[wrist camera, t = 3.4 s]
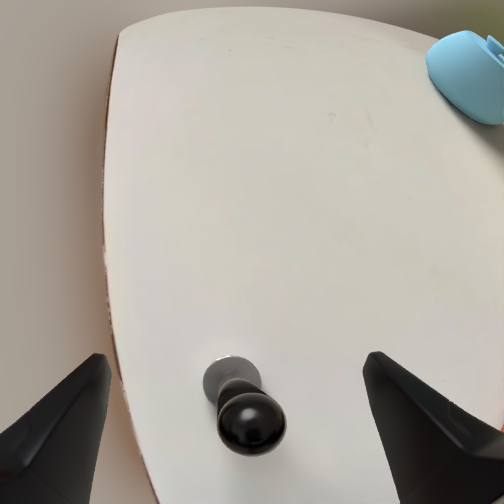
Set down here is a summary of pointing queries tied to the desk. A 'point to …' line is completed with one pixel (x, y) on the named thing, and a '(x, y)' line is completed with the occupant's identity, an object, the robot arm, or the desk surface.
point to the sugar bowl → (470, 75)
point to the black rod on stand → (243, 407)
